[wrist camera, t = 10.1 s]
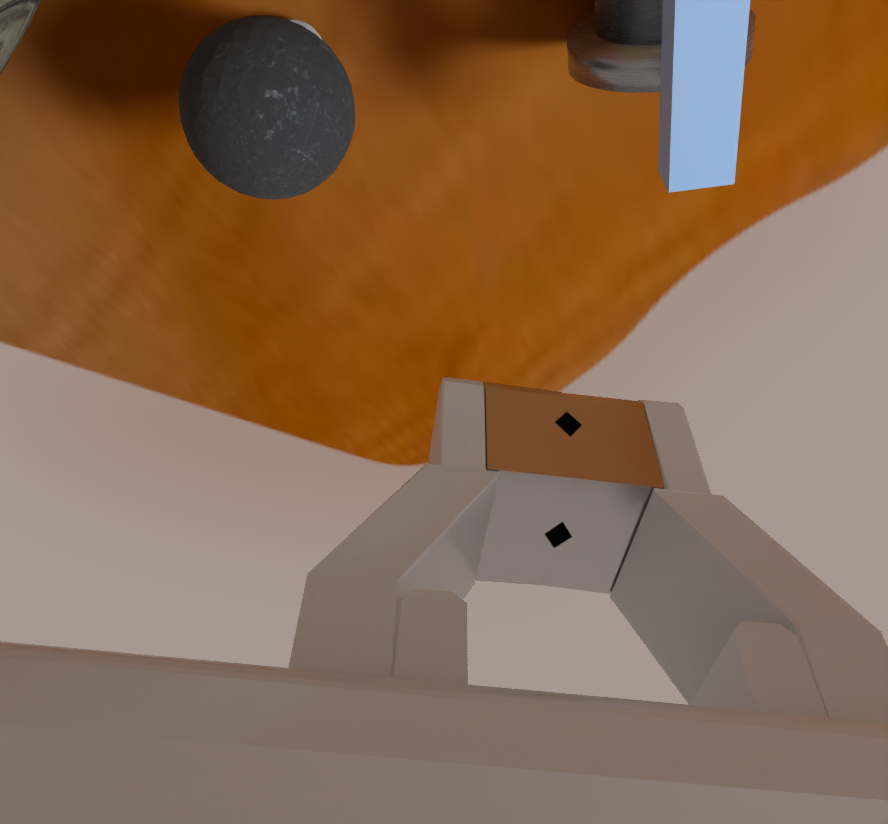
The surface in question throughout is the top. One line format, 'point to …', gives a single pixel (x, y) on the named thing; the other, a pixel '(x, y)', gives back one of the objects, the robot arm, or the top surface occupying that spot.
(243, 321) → the top surface
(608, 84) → the valve
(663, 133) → the lever
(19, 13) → the tabletop clock
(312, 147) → the light bulb
